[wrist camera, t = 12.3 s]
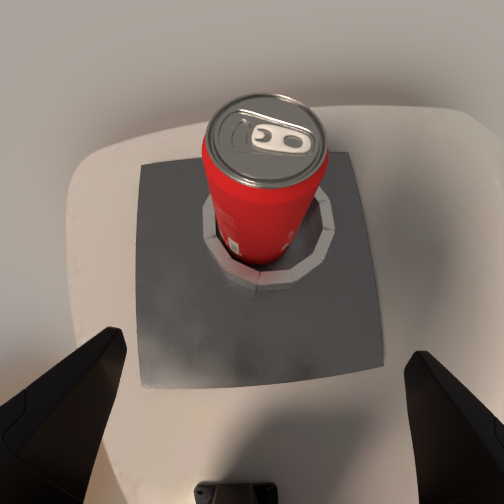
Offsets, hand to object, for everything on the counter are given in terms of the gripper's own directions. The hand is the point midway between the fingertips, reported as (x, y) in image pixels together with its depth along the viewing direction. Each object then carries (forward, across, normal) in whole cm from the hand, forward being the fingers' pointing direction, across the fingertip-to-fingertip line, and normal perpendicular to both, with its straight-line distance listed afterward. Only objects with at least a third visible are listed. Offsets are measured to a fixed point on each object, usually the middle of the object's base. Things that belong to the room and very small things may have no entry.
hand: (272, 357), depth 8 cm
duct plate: (+14, +1, +6) cm, 15 cm away
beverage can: (+15, +1, +4) cm, 15 cm away
